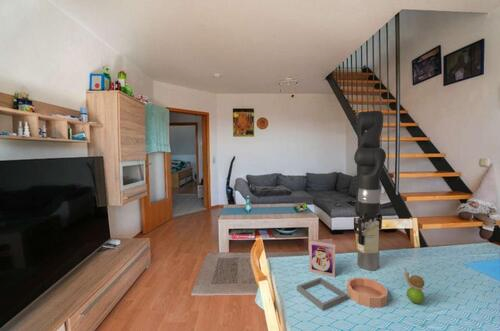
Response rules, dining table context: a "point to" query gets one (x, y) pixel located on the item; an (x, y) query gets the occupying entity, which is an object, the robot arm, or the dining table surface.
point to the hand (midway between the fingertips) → (367, 242)
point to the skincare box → (370, 238)
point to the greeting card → (322, 257)
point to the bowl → (367, 292)
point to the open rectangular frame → (318, 303)
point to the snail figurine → (415, 288)
